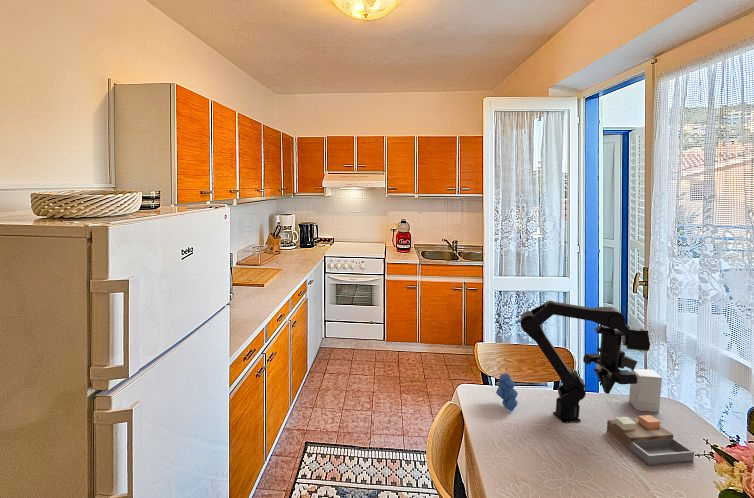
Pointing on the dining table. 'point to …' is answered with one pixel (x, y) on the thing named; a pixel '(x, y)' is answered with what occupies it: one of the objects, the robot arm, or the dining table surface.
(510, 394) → the grapes
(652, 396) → the supplement box
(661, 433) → the walnut board
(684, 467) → the dining table surface
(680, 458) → the tray
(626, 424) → the sage tile
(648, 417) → the terracotta tile
